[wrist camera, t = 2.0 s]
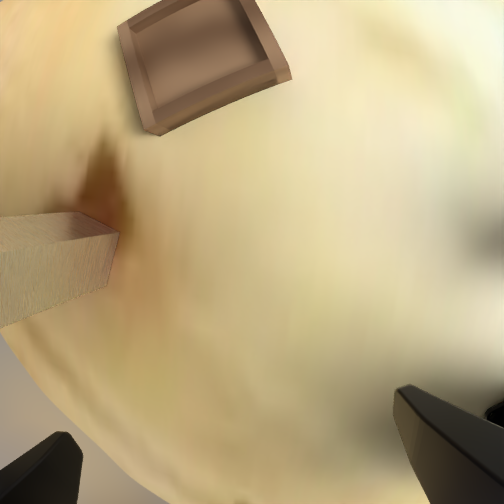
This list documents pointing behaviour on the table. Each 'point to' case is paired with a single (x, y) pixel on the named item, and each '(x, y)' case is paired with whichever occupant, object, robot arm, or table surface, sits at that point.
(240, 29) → the tray
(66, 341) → the table surface
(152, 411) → the table surface
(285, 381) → the table surface
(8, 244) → the brushed steel post
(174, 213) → the table surface
